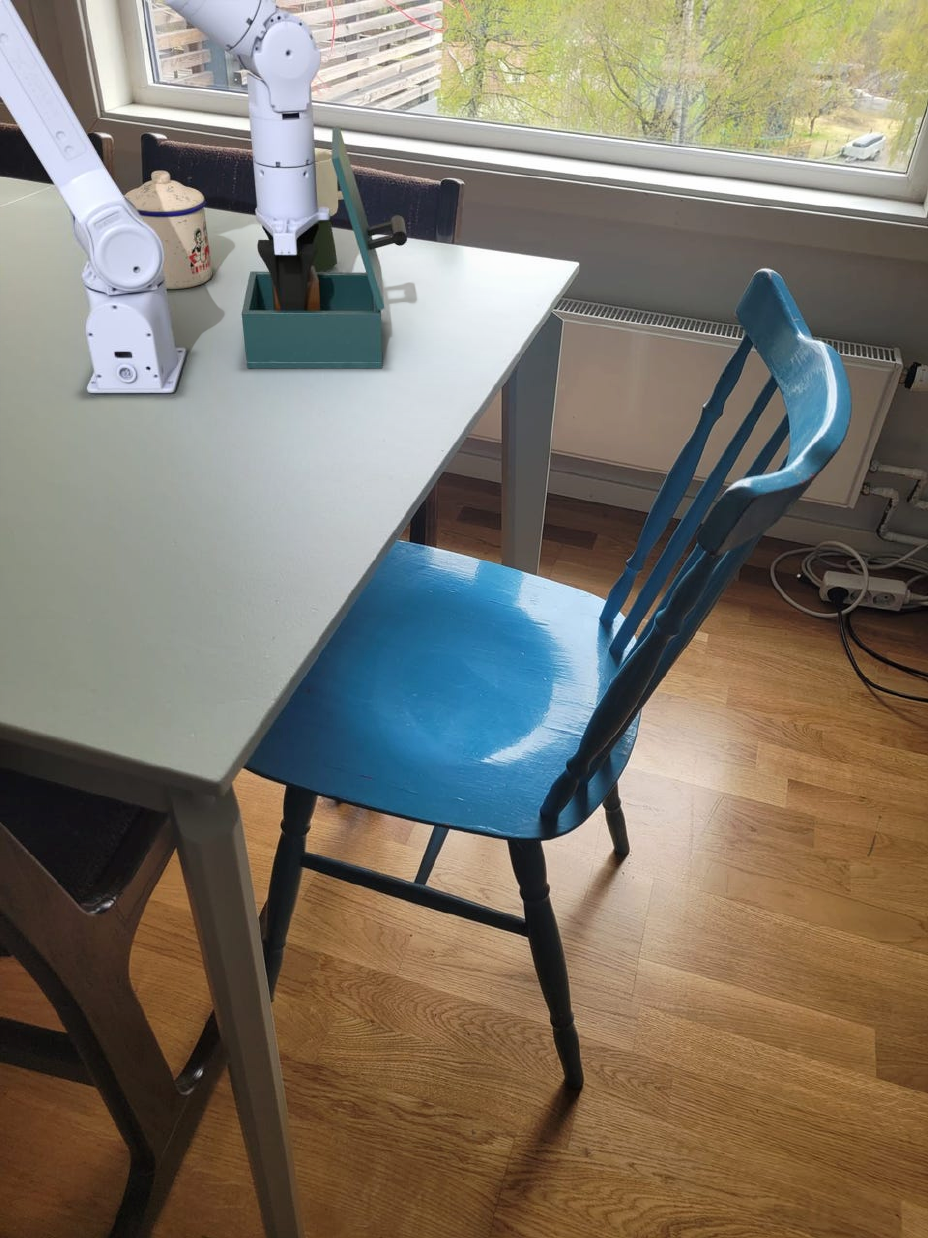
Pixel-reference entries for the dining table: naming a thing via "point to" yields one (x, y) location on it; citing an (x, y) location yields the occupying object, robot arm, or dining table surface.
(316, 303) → the block
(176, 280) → the teacup with lid
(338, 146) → the lid
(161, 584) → the dining table surface
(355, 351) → the teal wooden box
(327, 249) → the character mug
